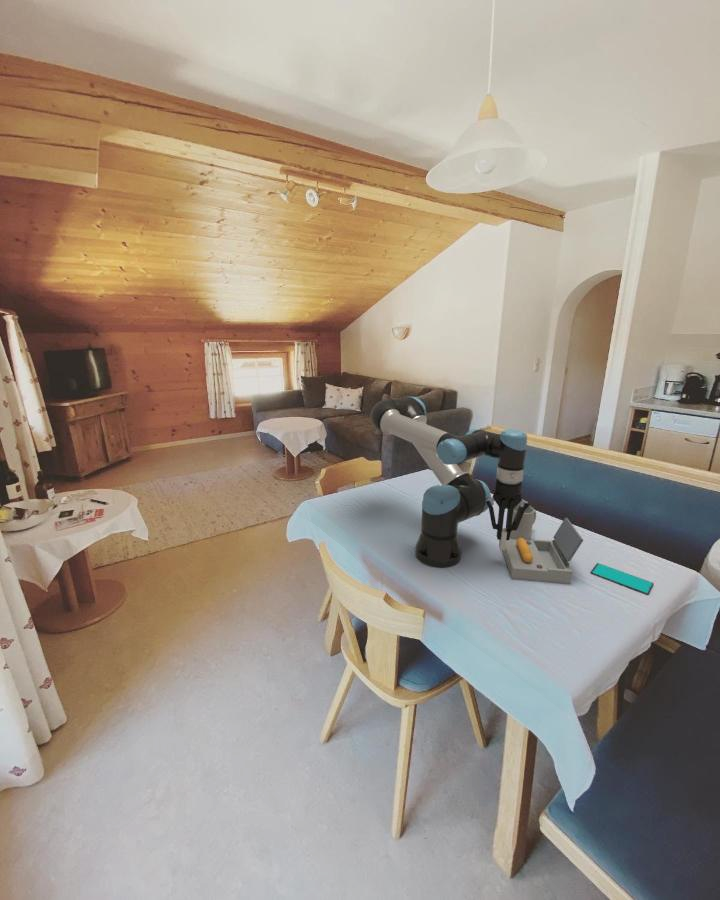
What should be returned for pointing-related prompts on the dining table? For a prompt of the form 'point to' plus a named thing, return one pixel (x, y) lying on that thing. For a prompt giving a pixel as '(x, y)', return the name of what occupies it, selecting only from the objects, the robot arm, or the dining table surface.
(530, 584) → the dining table surface
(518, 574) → the hinged lid box
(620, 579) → the smartphone
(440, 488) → the robot arm
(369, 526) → the dining table surface
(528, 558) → the capsule
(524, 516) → the mug
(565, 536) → the cover
